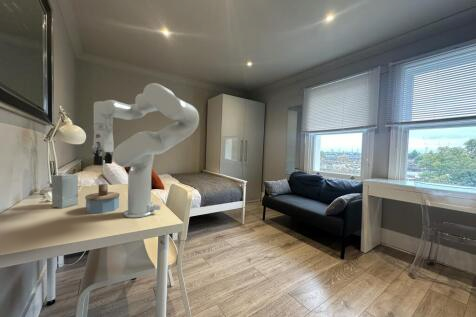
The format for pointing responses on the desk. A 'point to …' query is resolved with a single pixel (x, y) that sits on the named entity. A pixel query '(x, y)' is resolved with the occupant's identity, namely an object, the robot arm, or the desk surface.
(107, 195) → the walnut lid
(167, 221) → the desk surface
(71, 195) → the skincare box
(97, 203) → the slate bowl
